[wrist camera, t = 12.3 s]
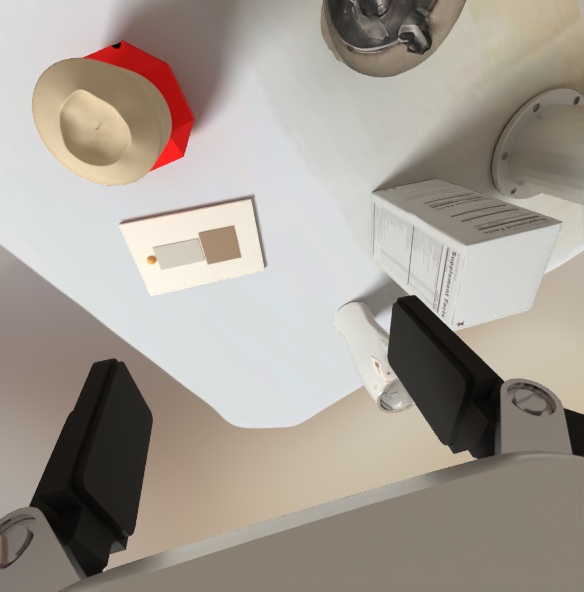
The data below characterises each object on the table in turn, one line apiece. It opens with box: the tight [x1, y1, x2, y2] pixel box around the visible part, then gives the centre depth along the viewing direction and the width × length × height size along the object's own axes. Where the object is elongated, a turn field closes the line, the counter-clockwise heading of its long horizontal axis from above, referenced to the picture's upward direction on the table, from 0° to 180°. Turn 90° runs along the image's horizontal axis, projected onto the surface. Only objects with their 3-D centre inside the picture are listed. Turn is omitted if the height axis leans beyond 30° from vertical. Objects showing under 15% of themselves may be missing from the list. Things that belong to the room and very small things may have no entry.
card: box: [119, 198, 265, 296], centre depth 36 cm, size 14×9×1 cm, turn 96°
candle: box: [32, 58, 172, 185], centre depth 18 cm, size 6×6×10 cm
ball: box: [83, 40, 194, 172], centre depth 25 cm, size 8×8×8 cm
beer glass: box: [333, 302, 415, 413], centre depth 42 cm, size 7×7×15 cm
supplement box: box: [371, 179, 562, 331], centre depth 34 cm, size 10×9×17 cm
